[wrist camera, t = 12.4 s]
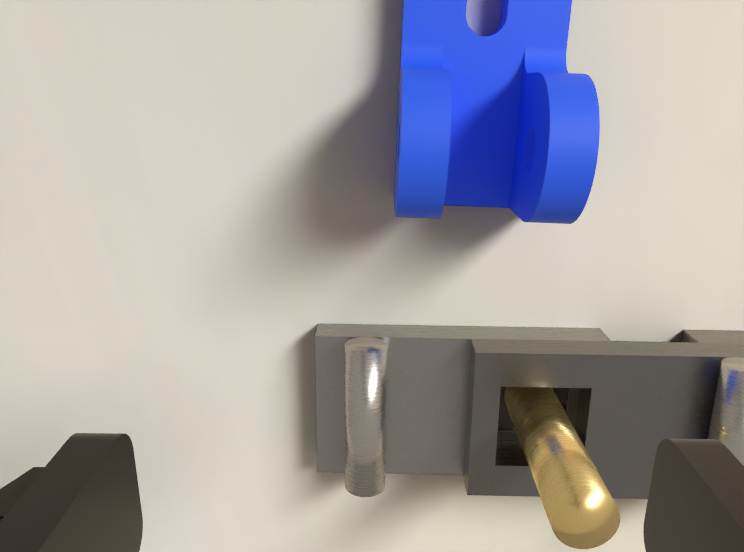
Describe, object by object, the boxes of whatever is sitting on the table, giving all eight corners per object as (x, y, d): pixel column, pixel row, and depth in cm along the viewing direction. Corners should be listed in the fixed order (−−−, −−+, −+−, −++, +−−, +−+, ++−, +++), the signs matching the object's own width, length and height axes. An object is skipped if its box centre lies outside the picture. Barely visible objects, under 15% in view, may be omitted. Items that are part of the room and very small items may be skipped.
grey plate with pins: (318, 323, 39) (305, 368, 32) (750, 330, 38) (820, 377, 32) (320, 454, 41) (308, 518, 35) (725, 462, 41) (785, 528, 34)
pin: (505, 372, 39) (554, 490, 28) (554, 373, 39) (624, 492, 28) (502, 416, 40) (548, 547, 29) (550, 416, 40) (616, 549, 28)
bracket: (539, 202, 36) (586, 238, 28) (393, 197, 36) (396, 230, 28) (579, -160, 31) (652, -254, 23) (410, -165, 31) (420, -261, 23)
